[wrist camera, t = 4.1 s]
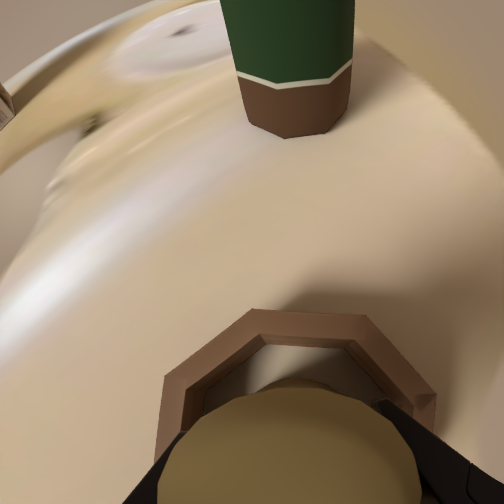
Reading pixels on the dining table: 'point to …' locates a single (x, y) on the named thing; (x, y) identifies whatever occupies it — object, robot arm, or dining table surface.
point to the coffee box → (5, 107)
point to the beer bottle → (292, 61)
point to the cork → (291, 452)
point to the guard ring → (294, 334)
